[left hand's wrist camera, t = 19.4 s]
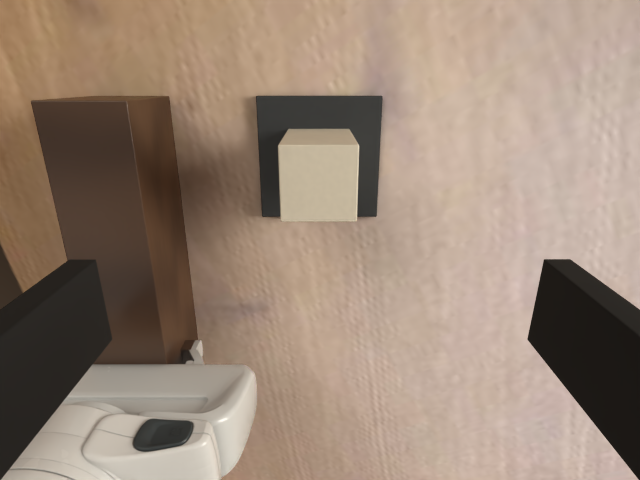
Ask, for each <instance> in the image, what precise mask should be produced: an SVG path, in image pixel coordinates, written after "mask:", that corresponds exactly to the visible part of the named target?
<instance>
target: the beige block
mask: <svg viewBox="0 0 640 480" xmlns="http://www.w3.org/2000/svg"><path fill="white" fill-rule="evenodd" d="M278 162H279V189H280V216H281V222H356V221H357V200H358V168H359V145H358V143H357V141H356V139H355V138H354V136H353V134H352V133H351V131H350V129H288V130H287V132H286V134H285V135H284V137H283V138H282V140H281V142H280V143H279V145H278Z"/></svg>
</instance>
